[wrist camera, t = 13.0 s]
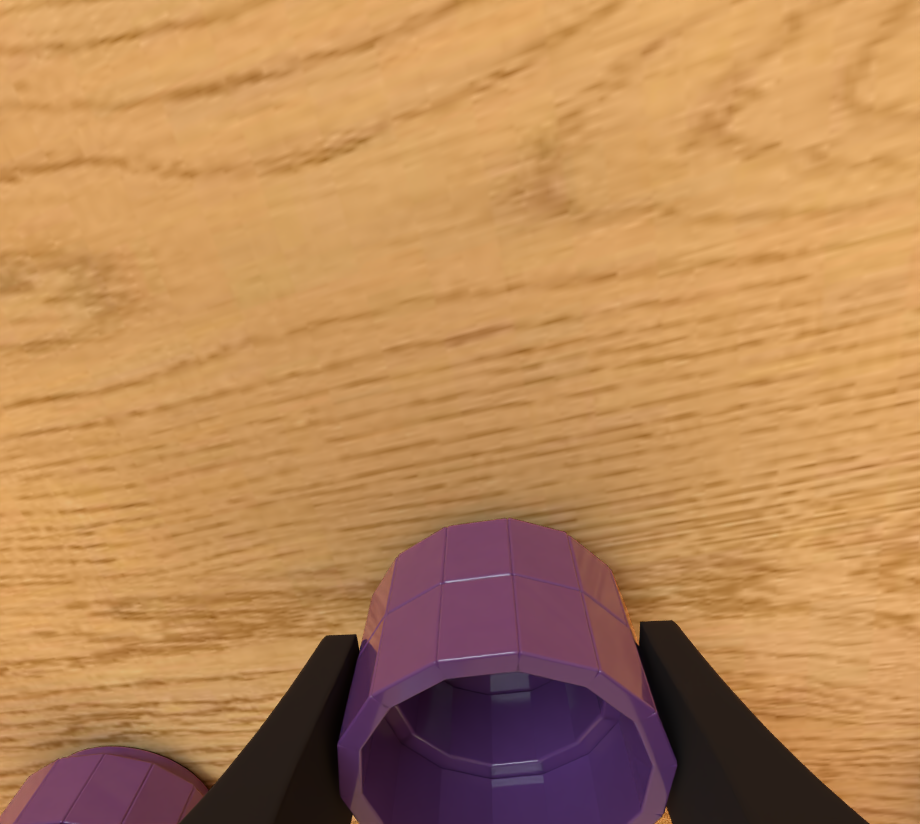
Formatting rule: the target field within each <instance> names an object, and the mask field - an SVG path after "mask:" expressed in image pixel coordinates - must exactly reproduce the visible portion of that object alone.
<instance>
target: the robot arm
mask: <svg viewBox="0 0 920 824" xmlns="http://www.w3.org/2000/svg"><path fill="white" fill-rule="evenodd" d="M639 647H640V650H641V653H642V656H643V659H644V662H645V665H646V668H647V672H648V674H649V677H650V680H651V683H652V686H653V689H654V692H655V695H656V698H657V701H658V704H659V707H660V710H661V713H662V716H663V719H664V722H665V725H666V728H667V731H668V734H669V737H670V740H671V743H672V746H673V749H674V752H675V755H676V758H677V770H676V773H675V777H674V780H673V784H672V787H671V791H670V794H669V798H668V801H667V805H666V806H667V809H668V812H669V815H670V818H671V820H672V823H673V824H869V823H868V822H867V821H866V820H864V819H863V818H862V817H861V816H860V815H859V814H857V813H856V812H855V811H854V810H853V809H851V808H850V807H849V806H848V805H847V804H846V803H845V802H844V801H842V800H841V799H840V798H839V797H838V796H837V795H836V794H835V793H833V792H832V791H831V790H830V789H829V788H828V787H827V786H826V785H824V784H823V783H822V782H821V781H820V780H819V779H818V778H817V777H816V776H815V775H814V774H813V773H812V772H810V771H809V770H808V769H807V768H806V767H805V766H804V765H803V764H802V763H801V762H800V761H799V760H798V759H797V758H796V757H795V756H794V755H793V754H792V753H791V752H790V751H789V750H788V749H787V748H786V747H785V746H784V745H783V744H782V743H781V742H780V741H779V740H778V739H777V738H776V737H775V736H774V735H773V734H772V733H771V732H770V731H769V730H768V729H767V728H766V727H765V726H764V725H763V724H762V723H761V722H760V721H759V720H758V719H757V717H756V716H755V715H754V714H753V713H752V712H751V711H750V710H749V709H748V708H747V707H746V705H745V704H744V703H743V702H742V701H741V700H740V699H739V698H738V697H737V696H736V694H735V693H734V692H733V691H732V690H731V689H730V688H729V687H728V686H727V684H726V683H725V682H724V681H723V680H722V679H721V678H720V676H719V675H718V674H717V673H716V672H715V670H714V669H713V668H712V667H711V666H710V665H709V663H708V662H707V661H706V660H705V659H704V657H703V656H702V655H701V654H700V653H699V651H698V650H697V649H696V648H695V646H694V645H693V644H692V643H691V641H690V640H689V639H688V638H687V636H686V635H685V634H684V633H683V631H682V630H681V629H680V627H679V626H678V625H677V624H676V623H675V622H674V621H672V620H670V621H647V622H640V638H639ZM358 655H359V646H358V641H357V636H356V634H352V635H329V636H325V637H324V638H323V639H322V641H321V642H320V644H319V645H318V647H317V648H316V650H315V651H314V653H313V654H312V656H311V657H310V659H309V660H308V662H307V663H306V665H305V666H304V668H303V669H302V671H301V672H300V674H299V675H298V676H297V678H296V679H295V681H294V682H293V684H292V685H291V687H290V688H289V689H288V691H287V692H286V694H285V695H284V696H283V698H282V699H281V701H280V702H279V703H278V705H277V706H276V707H275V709H274V710H273V711H272V713H271V714H270V715H269V717H268V718H267V720H266V721H265V722H264V724H263V725H262V726H261V728H260V729H259V730H258V732H257V733H256V734H255V735H254V737H253V738H252V739H251V740H250V742H249V743H248V744H247V745H246V747H245V748H244V749H243V750H242V752H241V753H240V754H239V755H238V756H237V758H236V759H235V760H234V761H233V763H232V764H231V765H230V766H229V768H228V769H227V770H226V771H225V772H224V774H223V775H222V776H221V777H220V778H219V779H218V781H217V782H216V783H215V784H214V785H213V786H212V788H211V789H210V790H209V791H208V792H207V793H206V794H205V795H204V797H203V798H202V799H201V800H200V801H199V802H198V803H197V804H196V805H195V806H194V808H193V809H192V810H191V811H190V812H189V813H188V814H187V815H186V816H185V817H184V818H183V819H182V820H181V822H180V823H179V824H351V819H352V815H353V814H352V813H351V811H350V810H349V809H348V807H347V806H346V805H345V803H344V802H343V801H342V799H341V796H340V795H339V778H338V755H337V743H338V739H339V735H340V731H341V726H342V722H343V718H344V713H345V709H346V705H347V701H348V696H349V692H350V688H351V683H352V679H353V675H354V671H355V666H356V663H357V659H358Z"/></svg>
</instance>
